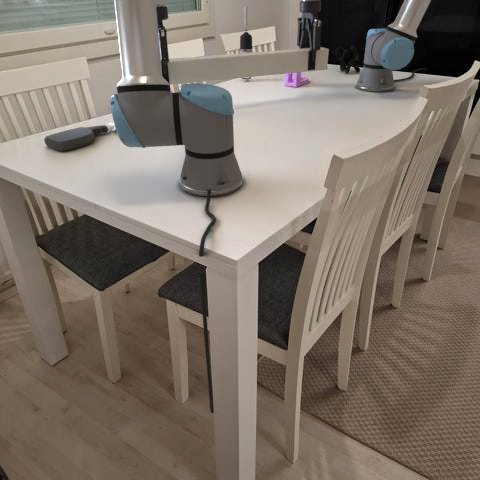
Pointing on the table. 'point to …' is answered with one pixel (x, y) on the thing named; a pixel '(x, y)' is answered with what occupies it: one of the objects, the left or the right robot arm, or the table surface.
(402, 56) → the right robot arm
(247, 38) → the filter
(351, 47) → the squiggle
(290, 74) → the bracket
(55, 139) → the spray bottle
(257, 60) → the bar
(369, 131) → the table surface
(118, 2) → the left robot arm
